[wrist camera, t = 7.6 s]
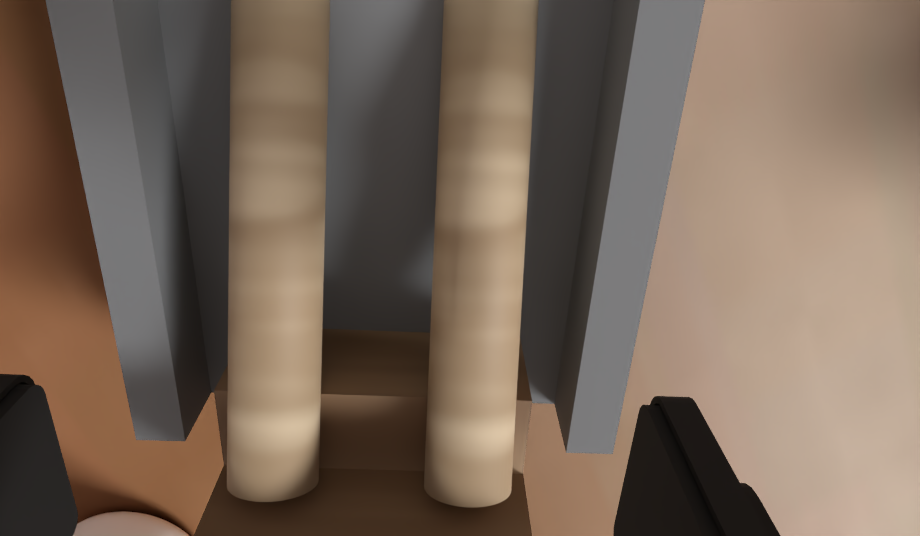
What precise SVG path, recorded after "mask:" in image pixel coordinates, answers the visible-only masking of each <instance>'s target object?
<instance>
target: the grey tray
mask: <svg viewBox="0 0 920 536" xmlns="http://www.w3.org/2000/svg"><path fill="white" fill-rule="evenodd" d="M704 2H705V0H539V4H538V22H537V40H536V58H535V75H534V93H533V111H532V129H531V147H530V165H529V183H528V201H527V219H526V237H525V255H524V272H523V290H522V308H521V326H520V339H521V345H522V350H523V355H524V360H525V366H526V371H527V376H528V381H529V387H530V392H531V397H532V403H549V404H555V408H556V412H557V416H558V420H559V424H560V429H561V433H562V437H563V441H564V445H565V450H566V453H597V454H613V449H614V445H615V440H616V435H617V430H618V425H619V420H620V415H621V410H622V405H623V400H624V395H625V391H626V386H627V381H628V376H629V371H630V366H631V361H632V356H633V351H634V346H635V341H636V336H637V332H638V327H639V322H640V317H641V312H642V307H643V302H644V297H645V292H646V287H647V282H648V278H649V273H650V268H651V263H652V258H653V253H654V248H655V243H656V238H657V233H658V228H659V223H660V219H661V214H662V209H663V204H664V199H665V194H666V189H667V184H668V179H669V174H670V169H671V165H672V160H673V155H674V150H675V145H676V140H677V135H678V130H679V125H680V120H681V115H682V111H683V106H684V101H685V96H686V91H687V86H688V81H689V76H690V71H691V66H692V61H693V56H694V52H695V47H696V42H697V37H698V32H699V27H700V22H701V17H702V12H703V7H704ZM46 5H47V10H48V15H49V20H50V24H51V29H52V34H53V39H54V44H55V49H56V53H57V58H58V63H59V68H60V73H61V78H62V83H63V87H64V92H65V97H66V102H67V107H68V112H69V116H70V121H71V126H72V131H73V136H74V141H75V146H76V150H77V155H78V160H79V165H80V170H81V175H82V179H83V184H84V189H85V194H86V199H87V204H88V208H89V213H90V218H91V223H92V228H93V233H94V238H95V242H96V247H97V252H98V257H99V262H100V267H101V271H102V276H103V281H104V286H105V291H106V296H107V301H108V305H109V310H110V315H111V320H112V325H113V330H114V334H115V339H116V344H117V349H118V354H119V359H120V363H121V368H122V373H123V378H124V383H125V388H126V393H127V397H128V402H129V407H130V412H131V417H132V422H133V426H134V431H135V436H136V440H161V441H186V439H187V437H188V435H189V433H190V431H191V429H192V427H193V426H194V424H195V422H196V420H197V418H198V416H199V414H200V412H201V410H202V409H203V407H204V405H205V403H206V401H207V399H208V397H209V395H210V393H211V392H214V390H215V388H216V386H217V384H218V382H219V380H220V378H221V376H222V374H223V372H224V371H225V369H226V367H227V365H228V282H229V167H230V51H231V0H46ZM443 12H444V0H330V31H329V73H328V115H327V157H326V198H325V240H324V282H323V324H322V329H345V330H372V331H399V332H426V333H430V327H431V303H432V278H433V254H434V230H435V206H436V182H437V157H438V133H439V109H440V85H441V61H442V36H443Z"/></svg>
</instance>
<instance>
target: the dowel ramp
mask: <svg viewBox="0 0 920 536" xmlns="http://www.w3.org/2000/svg"><path fill="white" fill-rule="evenodd" d="M538 4H539V0H444V12H443V36H442V61H441V85H440V109H439V133H438V157H437V182H436V206H435V230H434V254H433V278H432V303H431V327H430V333H426V332H399V331H372V330H345V329H322V324H323V282H324V240H325V198H326V157H327V115H328V73H329V31H330V0H231V51H230V167H229V282H228V365H227V367H226V369H225V371H224V372H223V374H222V376H221V378H220V380H219V382H218V384H217V386H216V388H215V390H214V394H215V401H216V409H217V416H218V424H219V431H220V439H221V446H222V454H223V461H224V467H223V469H222V471H221V474H220V476H219V478H218V481H217V483H216V485H215V488H214V490H213V492H212V495H211V497H210V499H209V502H208V504H207V506H206V509H205V511H204V513H203V516H202V518H201V520H200V523H199V525H198V527H197V529H196V532H195V534H194V536H532V533H531V526H530V519H529V512H528V505H527V498H526V492H525V485H524V478H523V469H524V461H525V454H526V446H527V438H528V430H529V422H530V414H531V407H532V397H531V392H530V387H529V381H528V376H527V371H526V366H525V360H524V355H523V350H522V345H521V339H520V326H521V308H522V290H523V272H524V255H525V237H526V219H527V201H528V183H529V165H530V147H531V129H532V111H533V93H534V75H535V58H536V40H537V22H538Z"/></svg>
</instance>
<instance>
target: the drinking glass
mask: <svg viewBox="0 0 920 536" xmlns="http://www.w3.org/2000/svg"><path fill="white" fill-rule="evenodd" d="M73 536H189V535H188V534H187V533H186V532H185V531H183V530H182V529H180V528H179V527H177V526H176V525H174V524H172V523H170V522H168V521H166V520H163V519H161V518H158V517H155V516H152V515H148V514H143V513H137V512H126V511H120V512H108V513H103V514H99V515H95V516H92V517H89V518H87V519H85V520H83V521H81V522H79V523H78V524H77V526H76V529H75V532H74V534H73Z"/></svg>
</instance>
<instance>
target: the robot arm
mask: <svg viewBox="0 0 920 536" xmlns="http://www.w3.org/2000/svg"><path fill="white" fill-rule="evenodd" d="M77 521H78V513H77V508H76V504H75V500H74V497H73V493H72V490H71V486H70V482H69V479H68V475H67V471H66V468H65V464H64V460H63V457H62V453H61V449H60V446H59V442H58V438H57V435H56V431H55V427H54V424H53V420H52V416H51V413H50V409H49V405H48V402H47V398H46V394H45V392H44V389H43V388H42V387H41V386H39V385H35V384H34V381H33V380H32V379H31V378H30V377H29V376H26V375H11V374H0V536H73V534H74V532H75V529H76V526H77ZM614 536H780V534H779V533H778V531H777V529H776V527H775V526H774V524H773V522H772V520H771V519H770V517H769V515H768V513H767V511H766V510H765V508H764V506H763V504H762V503H761V501H760V499H759V497H758V496H757V494H756V493H755V492H754V490H753V489H752V488H751V487H750V486H748V485H747V484H745V483H739V481H738V479H737V477H736V475H735V473H734V472H733V470H732V468H731V466H730V464H729V463H728V461H727V459H726V457H725V455H724V453H723V452H722V450H721V448H720V446H719V444H718V443H717V441H716V439H715V437H714V435H713V433H712V432H711V430H710V428H709V426H708V424H707V423H706V421H705V419H704V417H703V415H702V413H701V412H700V410H699V408H698V406H697V404H696V403H695V401H694V400H693V399H692V398H690V397H665V396H656V397H654V398H653V399H652V401H651V404H650V405H642V406H641V408H640V410H639V414H638V419H637V423H636V428H635V432H634V437H633V442H632V446H631V451H630V455H629V460H628V464H627V469H626V474H625V478H624V483H623V487H622V492H621V497H620V501H619V506H618V510H617V515H616V519H615V524H614Z"/></svg>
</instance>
